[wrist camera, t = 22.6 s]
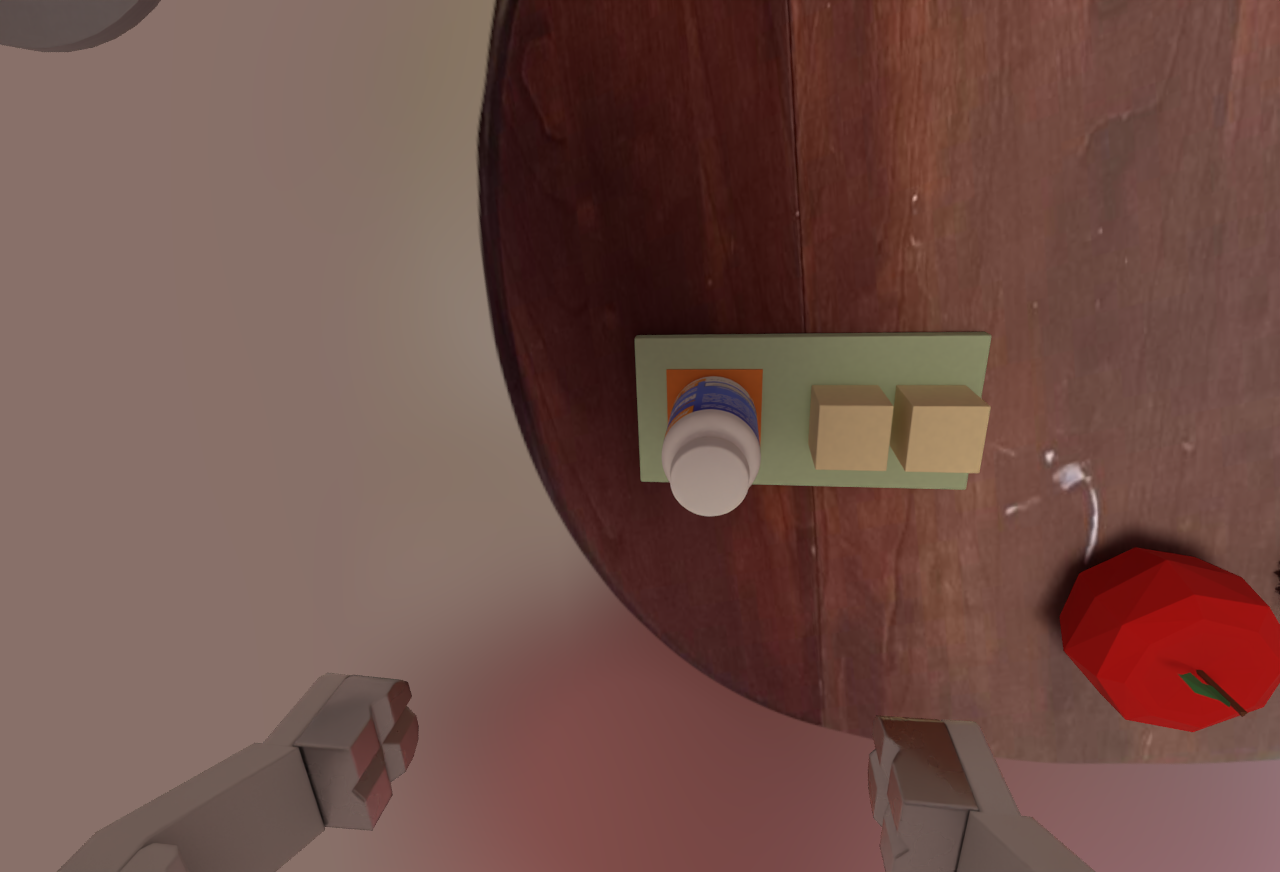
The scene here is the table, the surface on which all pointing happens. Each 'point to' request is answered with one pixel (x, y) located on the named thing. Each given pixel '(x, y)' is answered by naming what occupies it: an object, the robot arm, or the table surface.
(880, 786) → the robot arm
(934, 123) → the table surface
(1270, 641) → the apple
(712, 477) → the pill bottle
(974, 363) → the word mat
